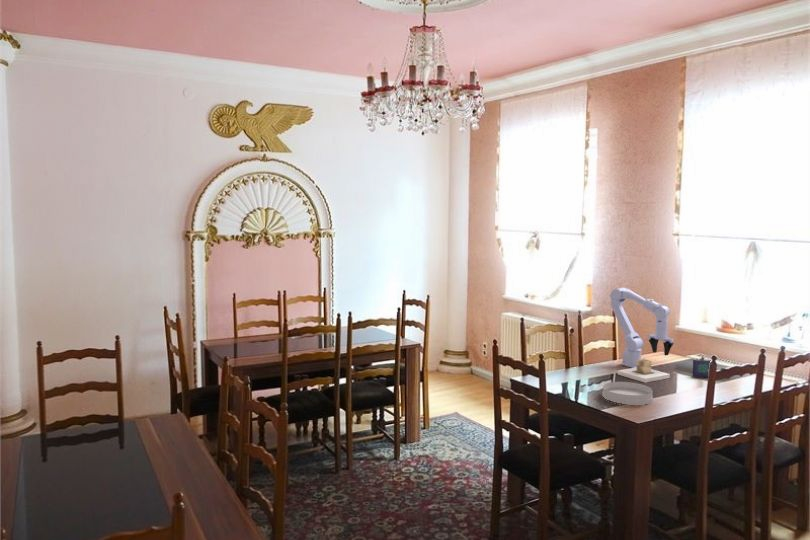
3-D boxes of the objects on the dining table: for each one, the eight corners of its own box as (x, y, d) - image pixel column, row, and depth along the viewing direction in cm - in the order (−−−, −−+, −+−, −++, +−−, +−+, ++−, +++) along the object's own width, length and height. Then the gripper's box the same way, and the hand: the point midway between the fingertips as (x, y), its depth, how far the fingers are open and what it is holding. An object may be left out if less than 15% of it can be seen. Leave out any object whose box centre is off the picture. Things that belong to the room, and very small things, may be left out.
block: (636, 371, 334) (636, 360, 333) (643, 370, 336) (643, 359, 336) (644, 373, 330) (644, 362, 329) (651, 372, 332) (651, 361, 331)
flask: (709, 375, 334) (710, 355, 332) (712, 377, 331) (713, 357, 329) (691, 375, 334) (692, 355, 333) (693, 377, 331) (694, 356, 330)
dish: (612, 389, 311) (613, 379, 310) (659, 397, 297) (659, 387, 296) (594, 400, 294) (594, 389, 293) (642, 409, 280) (643, 398, 279)
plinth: (617, 374, 337) (617, 370, 336) (641, 370, 345) (641, 366, 345) (645, 382, 321) (645, 378, 321) (669, 378, 329) (669, 373, 329)
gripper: (645, 327, 345) (644, 351, 347) (667, 331, 333) (666, 357, 334) (654, 325, 349) (653, 350, 350) (677, 330, 336) (675, 355, 337)
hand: (660, 353), depth 342 cm, fingers open, 7 cm apart
